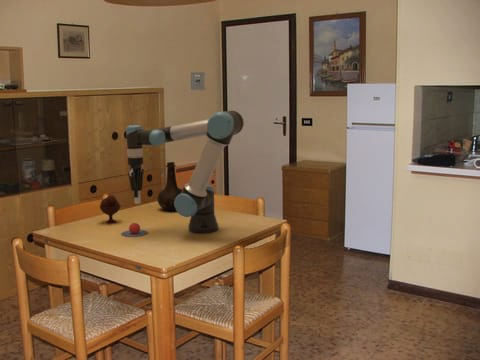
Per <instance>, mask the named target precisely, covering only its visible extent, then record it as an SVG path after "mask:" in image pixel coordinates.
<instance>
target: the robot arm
mask: <svg viewBox="0 0 480 360" xmlns="http://www.w3.org/2000/svg"><path fill="white" fill-rule="evenodd" d="M244 122H245V121H244V119H243V116H242V115H241V114H240V112H238V111H235V110H227V111H218V112H216V113H213V114H212V115H211V116H210V117H209V118H207V119H204V120H202V119H201V120H198V121H193V122H187V123H183V124H178V125H177V124H176V125H172V126H165V127H160V128H155V129H143V128H142V126H141V125H137V124H135V125H131V124H130V125H127V126H126V129H125V130H126V131H125V132H126V134H125V136H126V148H127V150H126V152H127V164H128V166H130V169H129V170H130V171H129V172H127V176H128V177H129V178H128V179H129V184H130V190H131V192H133V199H134V204H136V205H141V203H142V202H141V201H142V200H141V198H142V197H141V191H143V185H144V181H143V180H144V172H145V169H144V168H142V165H144V157H143V156H144V152H143V151H144V150H143V149H144V148H143V146H154V147H155V146H156V147H157V146H163V145H164V144H165V143H170V142H175V141H181V140H189V139H194V138H198V137H206V139H207V140H206V142H205V145H204V146H203V149H202V151H201V154H200V156H199V159H198V161H197V163H196V166H195V168H194V170H193V172H192V175H191V177H190V180H189V182H188V183H184V186H183V188H182V189H183V190H182V192H181V194H179V195H178V196H177V197H176V198H175V201H174V206H175V208H176V212H177V214H179V215H180V216H182V217H184V218H190V219H189V222H188V231H189V232H190V233H196V234H197V233H198V234H206V233H207V234H208V233H214V232H216V231H218V230H219V223H218V220H217V218H216V214H215V188H214V186H213V185H212V184H211V185H210V184H209V183H210V180H211V179H212V176H213V174H214V171H215V169H216V168H217V164H218V163H219V160H220V158H221V156H222V153H223V151H224V149H225V147H226V146H229V145H230V143H231V141H232V139H233V136H235V135H239V133H240V132H242V130H243V128H244V125H245V123H244Z"/></svg>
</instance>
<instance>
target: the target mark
mask: <svg viewBox="0 0 480 360" xmlns="http://www.w3.org/2000/svg"><path fill="white" fill-rule="evenodd" d="M148 233H149V232H148V231H147V230H144V229H140V231H139V232H138V233H137V234H132V233H131V232H130V231H129V230H126V231H123V232H121V233H120V234H121V236H123V237H125V238H126V237H127V238H137V237H142V236H145V235H147V234H148Z"/></svg>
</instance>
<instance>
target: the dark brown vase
mask: <svg viewBox="0 0 480 360" xmlns="http://www.w3.org/2000/svg"><path fill="white" fill-rule="evenodd" d="M165 167H166V183H165V188H164V189H163V190H161V191H160V192H159V193H158V196H157V203H158V205H159V207H160V208H161V209H163V210H164V211H168V212H169V211H170V212H175V211H176V208H175V206H174V201H175V198H176V197H177V196H178V195H179V194H181V192H182V190H183V188H179V186H178V184H177V178H176V168H175V167H177V165H176V164H175V162H174V161H170V162H169V161H168V162H167V163H166V165H165ZM176 212H177V211H176Z"/></svg>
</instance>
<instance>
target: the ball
mask: <svg viewBox="0 0 480 360" xmlns="http://www.w3.org/2000/svg"><path fill="white" fill-rule="evenodd" d="M140 230H141V226H140V224H139V223H137V222H132V223H130V224H129V226H128V231H130V232H131V233H132V234H137V233H138V232H139V231H140Z"/></svg>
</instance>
